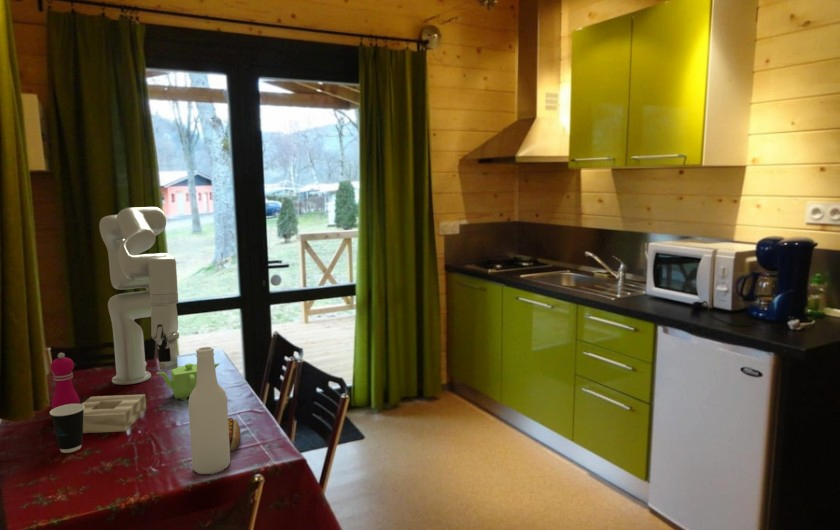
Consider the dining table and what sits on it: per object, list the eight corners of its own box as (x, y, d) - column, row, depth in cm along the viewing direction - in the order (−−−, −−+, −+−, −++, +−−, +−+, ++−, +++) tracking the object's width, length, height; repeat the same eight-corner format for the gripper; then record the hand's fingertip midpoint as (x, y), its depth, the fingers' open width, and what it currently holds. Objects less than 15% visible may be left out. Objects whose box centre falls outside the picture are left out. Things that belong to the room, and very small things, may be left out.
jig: (92, 412, 178) (91, 396, 177) (146, 409, 179) (145, 394, 179) (66, 433, 162) (64, 416, 161) (125, 431, 164) (124, 414, 163)
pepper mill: (67, 422, 170) (61, 356, 167) (46, 420, 171) (40, 355, 169) (86, 413, 177) (80, 350, 174) (66, 411, 179) (60, 348, 176)
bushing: (160, 364, 175) (158, 331, 173) (183, 363, 175) (182, 331, 174) (152, 371, 168) (150, 337, 167) (176, 370, 169) (174, 337, 167)
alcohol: (225, 475, 138) (218, 353, 134) (187, 476, 137) (179, 354, 133) (234, 458, 147) (228, 343, 143) (198, 459, 146) (191, 344, 142)
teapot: (157, 400, 187) (155, 369, 186) (182, 387, 200) (180, 357, 199) (200, 403, 184) (198, 371, 183) (222, 389, 197) (220, 359, 196)
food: (220, 433, 162) (219, 416, 161) (241, 431, 163) (240, 414, 163) (218, 455, 149) (217, 437, 148) (240, 452, 150) (239, 434, 149)
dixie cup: (50, 457, 148) (46, 416, 146) (56, 445, 155) (52, 406, 153) (86, 452, 151) (82, 411, 149) (89, 440, 158) (86, 401, 156)
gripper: (160, 293, 177) (164, 350, 179) (139, 304, 160) (144, 368, 163) (186, 292, 178) (189, 350, 180) (167, 304, 161) (171, 367, 163)
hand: (168, 357), depth 171 cm, fingers closed on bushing, 5 cm apart
